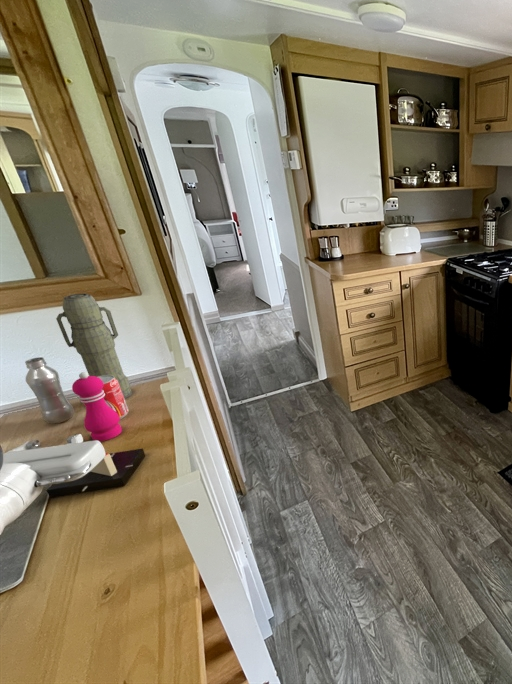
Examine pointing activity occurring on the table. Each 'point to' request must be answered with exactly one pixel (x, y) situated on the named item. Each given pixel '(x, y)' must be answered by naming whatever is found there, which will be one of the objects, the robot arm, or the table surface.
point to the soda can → (114, 395)
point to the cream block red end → (105, 466)
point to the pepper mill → (96, 408)
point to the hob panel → (101, 476)
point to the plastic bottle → (48, 391)
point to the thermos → (93, 338)
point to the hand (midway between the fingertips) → (56, 440)
